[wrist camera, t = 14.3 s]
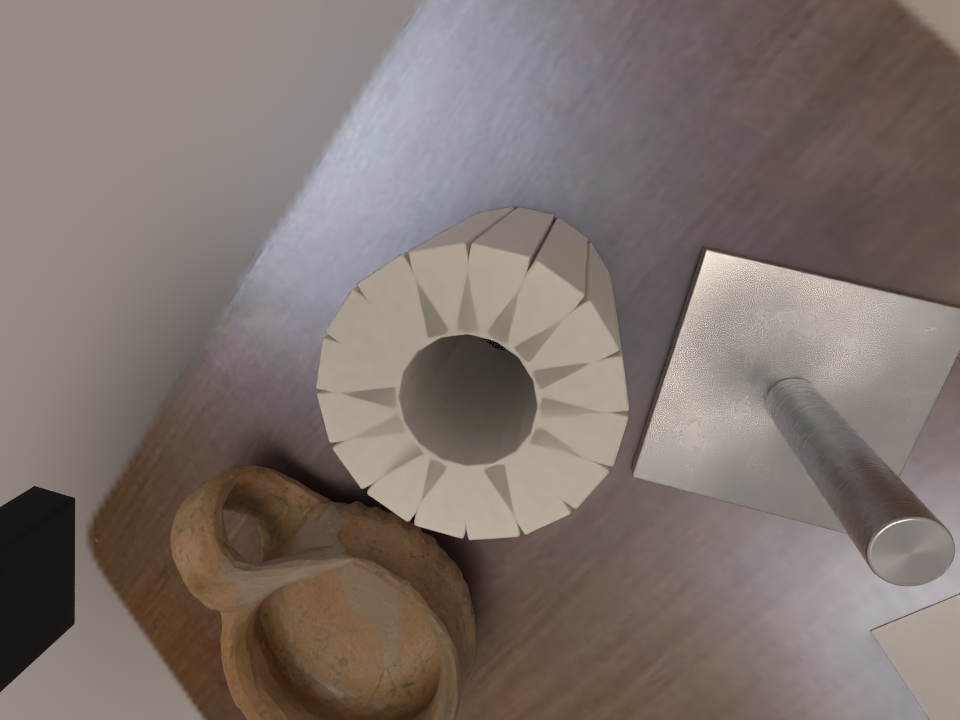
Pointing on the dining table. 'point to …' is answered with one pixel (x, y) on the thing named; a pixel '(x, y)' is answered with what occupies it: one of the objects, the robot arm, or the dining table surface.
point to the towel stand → (805, 404)
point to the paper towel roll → (479, 377)
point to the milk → (928, 656)
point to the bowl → (326, 603)
